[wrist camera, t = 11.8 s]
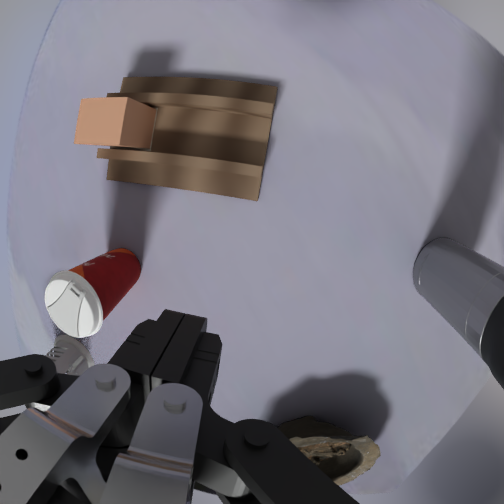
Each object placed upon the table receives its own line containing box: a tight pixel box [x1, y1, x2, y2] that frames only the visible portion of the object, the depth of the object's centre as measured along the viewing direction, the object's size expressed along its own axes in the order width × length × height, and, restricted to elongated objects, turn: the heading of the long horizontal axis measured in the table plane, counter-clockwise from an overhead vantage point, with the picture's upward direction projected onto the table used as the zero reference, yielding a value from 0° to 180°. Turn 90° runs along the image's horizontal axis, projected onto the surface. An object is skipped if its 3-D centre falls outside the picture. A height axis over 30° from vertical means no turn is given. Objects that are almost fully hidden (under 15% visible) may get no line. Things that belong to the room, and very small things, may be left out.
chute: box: [97, 77, 277, 201], centre depth 32 cm, size 20×14×4 cm
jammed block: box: [74, 97, 156, 149], centre depth 29 cm, size 6×5×8 cm
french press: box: [45, 335, 94, 376], centre depth 33 cm, size 10×12×25 cm
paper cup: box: [45, 248, 141, 338], centre depth 32 cm, size 8×8×14 cm
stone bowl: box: [278, 416, 380, 486], centre depth 43 cm, size 25×25×9 cm
